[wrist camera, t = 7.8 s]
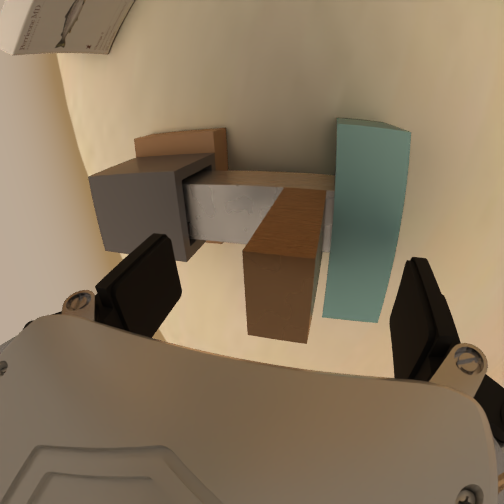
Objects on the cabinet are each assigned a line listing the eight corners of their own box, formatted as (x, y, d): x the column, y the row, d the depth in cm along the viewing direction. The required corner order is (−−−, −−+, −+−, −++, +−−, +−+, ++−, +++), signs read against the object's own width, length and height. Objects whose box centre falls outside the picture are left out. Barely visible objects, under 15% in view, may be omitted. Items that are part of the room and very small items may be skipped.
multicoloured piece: (182, 170, 22) (71, 233, 12) (363, 178, 19) (389, 266, 9) (187, 216, 24) (93, 298, 14) (358, 229, 21) (366, 349, 11)
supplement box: (109, 56, 22) (10, 59, 12) (74, 41, 22) (-14, 46, 11) (139, -3, 18) (44, -25, 8) (99, -11, 18) (13, -23, 7)
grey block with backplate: (151, 134, 26) (84, 154, 18) (225, 128, 24) (170, 142, 16) (163, 225, 31) (110, 269, 23) (232, 231, 29) (190, 283, 21)
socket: (336, 117, 21) (337, 123, 13) (382, 122, 20) (410, 132, 12) (330, 249, 27) (322, 317, 18) (369, 253, 26) (377, 322, 17)
